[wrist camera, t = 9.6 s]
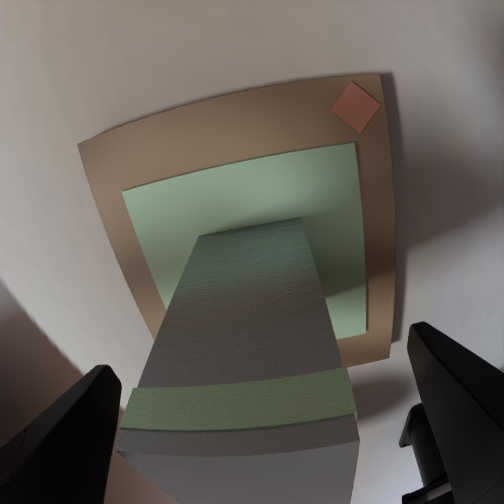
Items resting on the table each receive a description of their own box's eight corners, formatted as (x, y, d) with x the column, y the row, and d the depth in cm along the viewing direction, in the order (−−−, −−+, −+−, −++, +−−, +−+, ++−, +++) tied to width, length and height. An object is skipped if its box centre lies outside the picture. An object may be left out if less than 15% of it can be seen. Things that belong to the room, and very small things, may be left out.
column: (314, 302, 14) (351, 505, 5) (223, 317, 14) (194, 514, 6) (301, 215, 12) (363, 438, 4) (197, 235, 12) (111, 448, 4)
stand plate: (384, 345, 16) (390, 360, 15) (183, 375, 18) (179, 390, 17) (371, 75, 10) (381, 73, 9) (88, 140, 12) (74, 144, 11)
